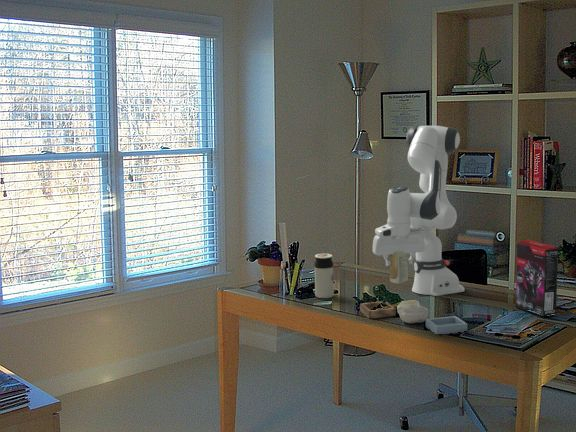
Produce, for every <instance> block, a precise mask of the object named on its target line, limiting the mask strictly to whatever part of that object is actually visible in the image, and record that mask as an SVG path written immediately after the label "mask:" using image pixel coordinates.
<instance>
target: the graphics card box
mask: <svg viewBox="0 0 576 432" xmlns="http://www.w3.org/2000/svg"><path fill="white" fill-rule="evenodd" d="M558 261H559V246H554V245H551V244H547V243H542V242H540V241H536V240H532V239H524V240H523V239H522V240H519V241H517V242H516V274H515V280H516V281H515V305H514V306H515V307H514V308H517V309H520V310H522V311H525V310H531V311H535V312H537V313H539V314H540V315H542V316H547V315H551V314H556V315H557V299H558V298H557V292H558V265H559V262H558Z"/></svg>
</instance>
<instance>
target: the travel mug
mask: <svg viewBox="0 0 576 432" xmlns="http://www.w3.org/2000/svg"><path fill="white" fill-rule="evenodd" d="M314 257H315V261H314V264H313V265H314V296H315V297H316V298H318V299H330V298H332V297H334V296H335V294H334V293H335V290H334V288H335V287H334V285H335V284H334V283H335V282H334V262H333V260H332V258H333V255H332V254H330V253H317V254H315V255H314Z"/></svg>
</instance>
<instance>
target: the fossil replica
mask: <svg viewBox="0 0 576 432" xmlns="http://www.w3.org/2000/svg"><path fill="white" fill-rule="evenodd" d="M396 310H397V311H396V312H397V313H398V314H399V317H400V319H401V320H402V321H404V322H405V323H407V324H415V323H419V324H420V323H421V324H422V323H424V322H426V319H429V318H428V317H429V315H430V313H429V312H430V310H429V309H428V308H427V307H425V306H422V305H421V303H420V302H419V300H417V299H411V300H410V299H409V300H401V302H399V304H398V305H397V306H396Z"/></svg>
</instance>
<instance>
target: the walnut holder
mask: <svg viewBox="0 0 576 432" xmlns="http://www.w3.org/2000/svg"><path fill="white" fill-rule="evenodd" d="M381 303H383V302H382V301H375V302H374V301H372V302H365V303H362V302H361V303H360V304H359V311H360V312H361V313H362V314H363V315H364V316H365V315H366V318H368V319H369V318H371V319H379V318H380V319H381V318H387V317H396V316H397V315H396V314H397V313H396V312H397V311H396V310H397V307H394V306H393V305H392V304H390V303H389V302H388V301H386V302H385V304H386V305H387V307H388V309H378V310H371V309H373V308H374V307H376V306H378V305H379V304H381Z"/></svg>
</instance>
